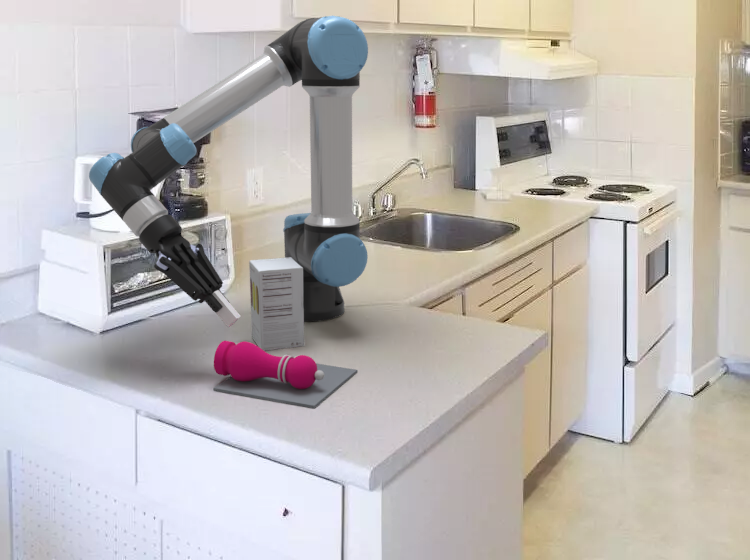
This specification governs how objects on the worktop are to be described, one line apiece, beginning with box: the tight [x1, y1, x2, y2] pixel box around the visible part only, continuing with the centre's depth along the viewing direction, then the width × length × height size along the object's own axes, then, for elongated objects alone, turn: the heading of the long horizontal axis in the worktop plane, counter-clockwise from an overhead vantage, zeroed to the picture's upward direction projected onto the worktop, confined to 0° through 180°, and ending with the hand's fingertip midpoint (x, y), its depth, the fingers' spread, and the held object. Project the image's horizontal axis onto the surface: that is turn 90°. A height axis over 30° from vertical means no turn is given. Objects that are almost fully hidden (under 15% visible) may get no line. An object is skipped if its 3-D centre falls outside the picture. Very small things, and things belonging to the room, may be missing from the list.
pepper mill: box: [213, 340, 324, 389], centre depth 151 cm, size 7×7×20 cm
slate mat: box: [213, 362, 358, 409], centre depth 155 cm, size 20×18×1 cm
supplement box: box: [248, 257, 305, 352], centre depth 173 cm, size 10×9×17 cm
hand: (234, 321), depth 156 cm, fingers closed
